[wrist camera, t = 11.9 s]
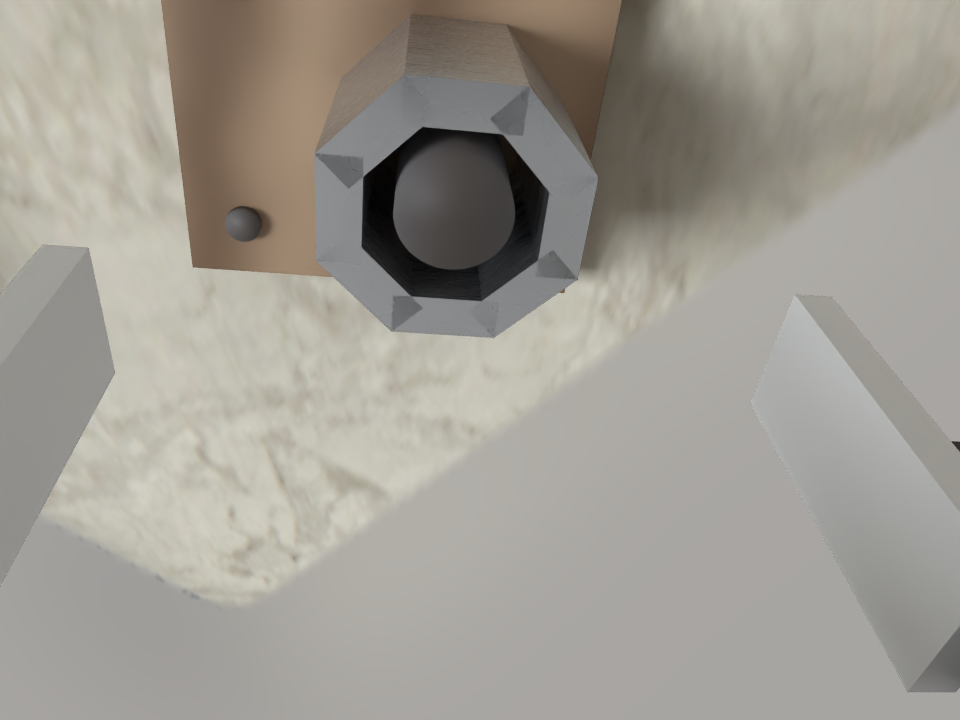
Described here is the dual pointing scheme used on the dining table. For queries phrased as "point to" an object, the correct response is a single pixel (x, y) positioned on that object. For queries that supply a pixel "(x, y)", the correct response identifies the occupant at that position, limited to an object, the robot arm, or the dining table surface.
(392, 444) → the dining table surface
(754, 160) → the dining table surface
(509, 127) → the hub
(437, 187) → the shaft block
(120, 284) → the dining table surface
